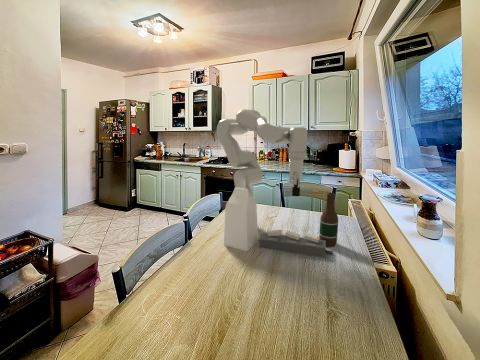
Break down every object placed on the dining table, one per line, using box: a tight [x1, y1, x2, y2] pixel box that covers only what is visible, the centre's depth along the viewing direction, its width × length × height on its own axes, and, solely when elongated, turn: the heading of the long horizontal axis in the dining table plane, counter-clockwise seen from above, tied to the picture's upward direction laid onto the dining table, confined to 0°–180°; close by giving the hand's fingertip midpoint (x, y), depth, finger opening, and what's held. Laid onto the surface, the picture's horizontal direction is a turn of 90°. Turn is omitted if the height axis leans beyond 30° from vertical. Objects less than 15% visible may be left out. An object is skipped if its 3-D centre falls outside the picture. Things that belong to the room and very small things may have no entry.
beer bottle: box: [318, 192, 339, 248], centre depth 114 cm, size 8×8×24 cm
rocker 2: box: [303, 232, 319, 243], centre depth 109 cm, size 6×3×2 cm, turn 72°
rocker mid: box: [284, 230, 301, 240], centre depth 112 cm, size 6×3×2 cm, turn 72°
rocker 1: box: [266, 229, 283, 236], centre depth 114 cm, size 6×3×2 cm, turn 70°
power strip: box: [258, 232, 334, 258], centre depth 110 cm, size 31×8×4 cm, turn 71°
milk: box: [223, 187, 259, 252], centre depth 115 cm, size 12×12×26 cm
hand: (295, 195), depth 115 cm, fingers closed
